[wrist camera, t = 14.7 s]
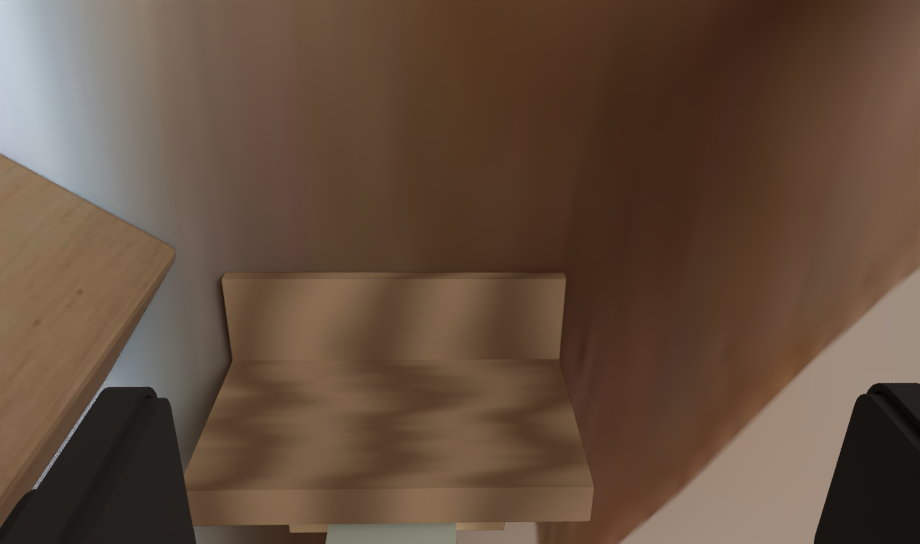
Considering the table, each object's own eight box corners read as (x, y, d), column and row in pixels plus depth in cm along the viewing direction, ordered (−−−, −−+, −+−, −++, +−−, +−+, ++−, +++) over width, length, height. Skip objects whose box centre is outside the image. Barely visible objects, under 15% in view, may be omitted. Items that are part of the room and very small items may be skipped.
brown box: (563, 272, 41) (605, 392, 31) (546, 474, 47) (576, 628, 37) (225, 272, 40) (158, 394, 30) (252, 477, 46) (204, 634, 37)
